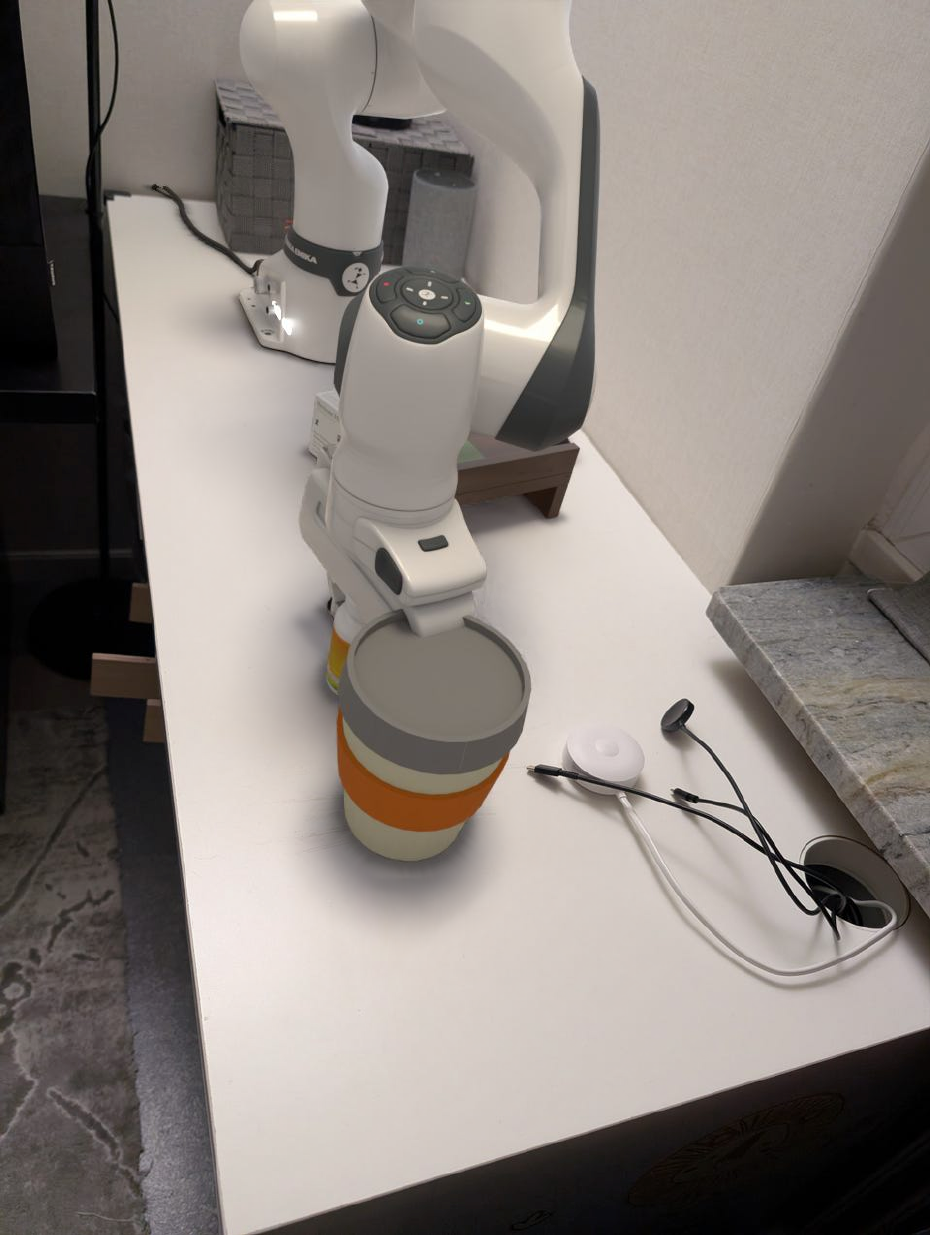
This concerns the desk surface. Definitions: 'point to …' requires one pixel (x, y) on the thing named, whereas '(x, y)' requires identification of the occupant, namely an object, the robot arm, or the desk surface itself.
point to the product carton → (325, 421)
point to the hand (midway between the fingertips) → (364, 645)
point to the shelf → (514, 473)
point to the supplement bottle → (342, 639)
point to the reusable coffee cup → (425, 730)
